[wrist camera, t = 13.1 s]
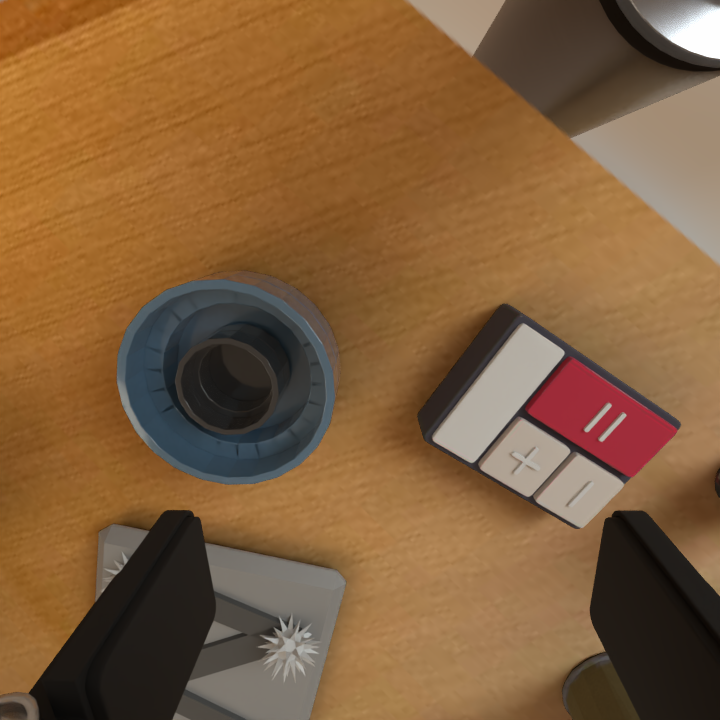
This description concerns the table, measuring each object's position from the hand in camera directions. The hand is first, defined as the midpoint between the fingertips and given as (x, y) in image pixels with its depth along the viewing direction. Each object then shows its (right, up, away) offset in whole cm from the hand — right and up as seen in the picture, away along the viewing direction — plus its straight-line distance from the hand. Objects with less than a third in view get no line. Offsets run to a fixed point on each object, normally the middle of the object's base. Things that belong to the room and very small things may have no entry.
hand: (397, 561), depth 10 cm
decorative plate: (-16, -25, +33) cm, 44 cm away
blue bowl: (-9, +4, +24) cm, 26 cm away
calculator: (+13, +1, +24) cm, 27 cm away
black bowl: (-9, +4, +23) cm, 25 cm away
